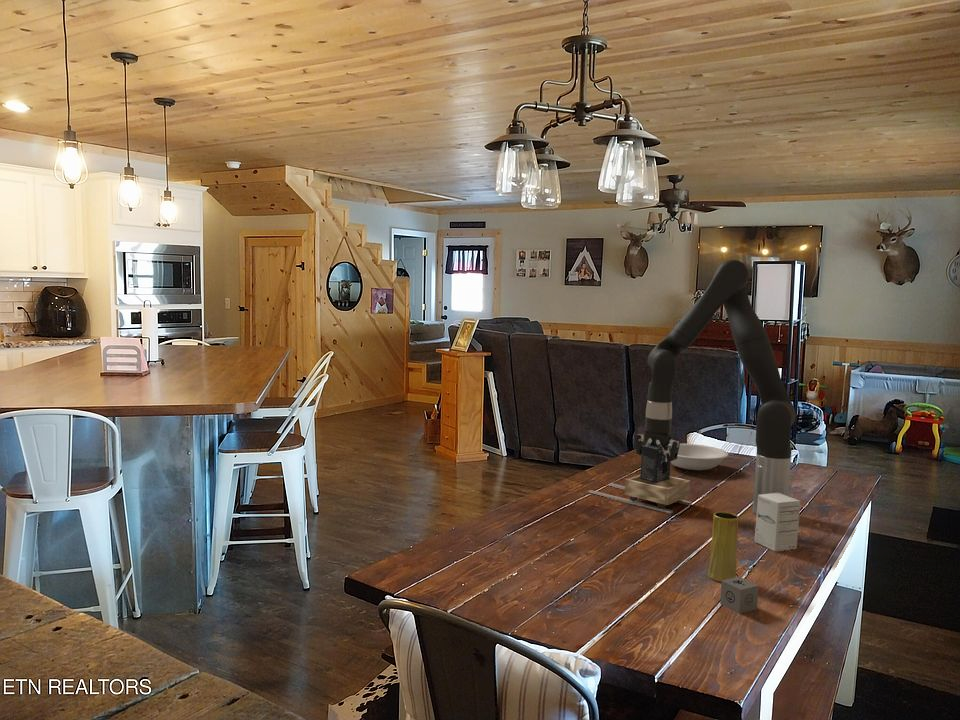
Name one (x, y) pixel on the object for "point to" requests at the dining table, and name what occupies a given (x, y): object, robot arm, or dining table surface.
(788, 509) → the supplement box
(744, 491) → the dining table surface
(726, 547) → the vase
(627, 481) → the light wooden open box
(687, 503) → the rails
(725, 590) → the grey cube
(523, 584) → the dining table surface
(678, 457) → the soup bowl
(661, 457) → the box
